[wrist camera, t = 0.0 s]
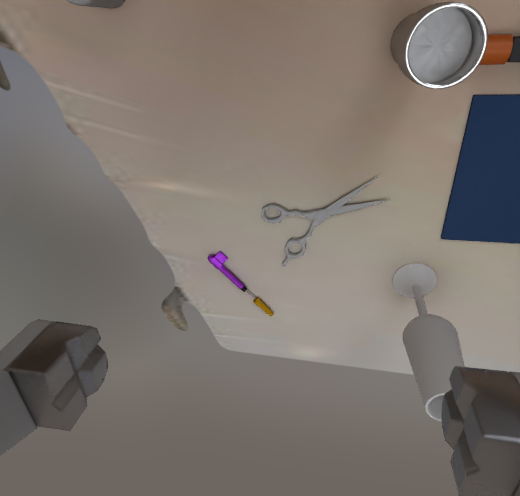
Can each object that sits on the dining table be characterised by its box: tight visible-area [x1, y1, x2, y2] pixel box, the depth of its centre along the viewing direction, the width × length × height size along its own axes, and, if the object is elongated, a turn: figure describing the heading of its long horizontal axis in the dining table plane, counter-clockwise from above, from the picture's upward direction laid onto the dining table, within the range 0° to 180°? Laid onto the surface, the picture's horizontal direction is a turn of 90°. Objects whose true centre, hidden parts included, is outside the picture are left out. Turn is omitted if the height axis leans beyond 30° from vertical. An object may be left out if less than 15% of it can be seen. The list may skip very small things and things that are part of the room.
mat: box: [441, 95, 520, 243], centre depth 51 cm, size 20×13×1 cm, turn 2°
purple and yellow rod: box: [208, 251, 274, 316], centre depth 68 cm, size 3×1×16 cm
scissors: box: [261, 177, 391, 266], centre depth 58 cm, size 11×1×20 cm
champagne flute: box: [392, 263, 465, 421], centre depth 51 cm, size 7×7×24 cm
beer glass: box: [390, 2, 488, 89], centre depth 39 cm, size 7×7×15 cm
